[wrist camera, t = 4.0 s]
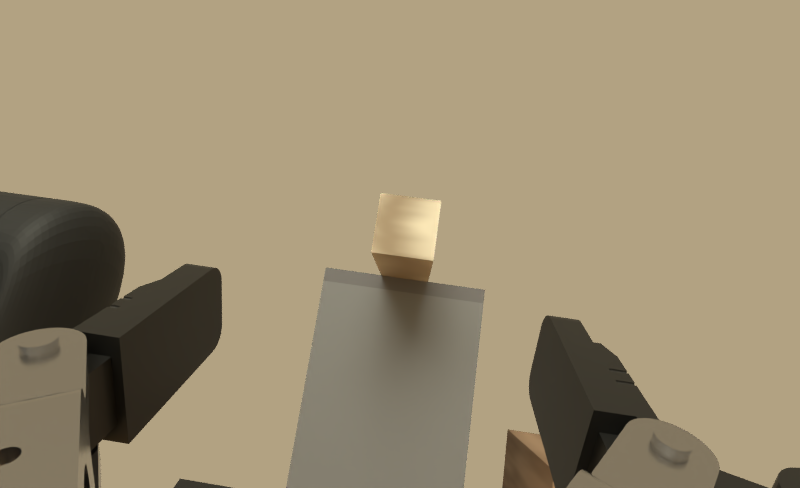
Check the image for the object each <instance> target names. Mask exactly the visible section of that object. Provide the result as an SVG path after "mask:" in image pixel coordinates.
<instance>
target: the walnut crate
mask: <svg viewBox="0 0 800 488" xmlns="http://www.w3.org/2000/svg"><path fill="white" fill-rule="evenodd" d="M503 488H555V486H554V482H553V479H552V475H551V472H550V468H549V464H548V461H547V457H546V454H545V450H544V447H543V443H542V439H541V436H540V435H539V434H534V433H527V432H521V431H514V430H508V433H507V444H506V455H505V466H504V477H503Z"/></svg>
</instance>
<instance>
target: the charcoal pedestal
mask: <svg viewBox="0 0 800 488" xmlns="http://www.w3.org/2000/svg"><path fill="white" fill-rule="evenodd" d="M484 291H485V290H481V289H474V288H467V287H460V286H453V285H446V284H439V283H432V282H425V281H418V280H410V279H403V278H396V277H389V276H382V275H375V274H368V273H360V272H354V271H346V270H340V269H332V268H326V270H325V276H324V282H323V287H322V292H321V298H320V303H319V309H318V315H317V320H316V326H315V331H314V337H313V342H312V348H311V353H310V359H309V364H308V370H307V375H306V381H305V387H304V392H303V398H302V403H301V409H300V414H299V420H298V425H297V431H296V437H295V442H294V448H293V453H292V459H291V464H290V470H289V475H288V481H287V487H286V488H464V477H465V468H466V460H467V450H468V441H469V432H470V431H469V430H470V422H471V413H472V402H473V394H474V385H475V375H476V367H477V357H478V348H479V339H480V329H481V320H482V310H483V301H484Z"/></svg>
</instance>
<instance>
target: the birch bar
mask: <svg viewBox="0 0 800 488" xmlns="http://www.w3.org/2000/svg"><path fill="white" fill-rule="evenodd" d="M440 207H441V201H437V200H429V199H422V198H414V197H407V196H399V195H391V194H384V193H381V195H380V201H379V208H378V214H377V220H376V226H375V232H374V239H373V245H372V251H371V253H372V255H373V257H374V260H375V261H376V264H377V266H378V269H379V271H380V273H381V275H382V276H389V277H396V278H403V279H410V280H418V281H425V282H428V279H429V276H430V272H431V268H432V264H433V260H434V252H435V245H436V237H437V229H438V222H439V215H440Z"/></svg>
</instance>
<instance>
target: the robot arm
mask: <svg viewBox="0 0 800 488" xmlns="http://www.w3.org/2000/svg"><path fill="white" fill-rule="evenodd" d="M124 264H125V249H124V242H123V238H122V234H121V232H120V229H119V227H118V225H117V224H116V223H115V221H114V220H113V219H112V218H111V217H110V216H109V215H108V214H107V213H105V212H103V211H102V210H100V209H99V208H96V207H94V206H91V205H87V204H83V203H78V202H72V201H66V200H58V199H51V198H43V197H37V196H29V195H22V194H14V193H7V192H0V488H101V473H100V472H101V470H100V453H99V442H100V441H101V440H102V439H103V440H110V441H115V442H121V443H127V444H129V443H130V442H131V441H132V440H133V439H134V438H135V436H136V435H137V434H138V433H139V432H140V431H141V430H142V429H143V428H144V426H145V425H146V424H147V423H148V422H149V421H150V420H151V419H152V418H153V417H154V415H155V414H156V413H157V412H158V411H159V410H160V409H161V408H162V407H163V406H164V405H165V403H166V402H167V401H168V400H169V399H170V398H171V397H172V395H174V393H175V392H176V391H177V390H178V389H179V388H180V387H181V385H182V384H184V382H185V381H186V380H187V379H188V378H189V377H190V376H191V375H192V374H193V372H194V371H195V370H196V369H197V368H198V367H199V366H200V365H201V364H202V363H203V362H204V360H205V359H206V358H207V357H208V356H209V355H210V354H211V353H212V352H213V350H214V349H215V347H216V346H217V344H218V341H219V338H220V334H221V329H222V292H221V291H222V287H221V284H222V281H221V274H220V271H219V270H218V269H217V268H212V267H205V266H198V265H192V264H185V265H183V266H181V267H180V268H178V269H177V270H175V271H174V272H172V273H171V274H169V275H167V276H166V277H164V278H163V279H161V280H158V281H155V282H152V283H149V284H146V285H143V286H140V287H138V288H137V289H135V290H133V291H132V292H130V293H129V294H127V295H125V296H124V298H123V299H119V300H117V298H118V295H119V292H120V287H121V283H122V278H123V274H124ZM529 395H530V400H531V404H532V407H533V411H534V414H535V418H536V421H537V425H538V429H539V432H540V436H541V439H542V443H543V447H544V450H545V454H546V457H547V461H548V464H549V468H550V472H551V475H552V479H553V482H554V486H555V488H767V487H764V486H762V485H759V484H756V483H754V482H751V481H748V480H745V479H742V478H740V477H737V476H734V475H731V474H728V473H726V472H723V471H721V470H719V469H720V467H719V463H718V461H717V458H716V457H715V455H714V454H713V452H712V451H711V450H710V449H709V448H708V447H707V446H706V445H705V444H704V443H703V442H702V441H700V440H699V439H697V438H696V437H695V436H693V435H692V434H690V433H689V432H687V431H685V430H683V429H681V428H679V427H677V426H675V425H673V424H670V423H667V422H664V421H660V420H659V419H658V418H657V416H656V415H655V413H654V412H653V410H652V409H651V407H650V406H649V404H648V403H647V401H646V400H645V398H644V397H643V395H642V393H641V392H640V391H639V389H638V387H637V386H634V381H633V380H632V378H631V377H630V375H629V374H627V371H626V369H625V368H624V366H623V365H622V363H621V362H620V360H619V359H618V357H617V356H616V355H614V354H613V353H612V352H610V351H609V350H608V349H607V348H605V347H604V346H603V345H602V344H599V343H593V342H592V340H591V338H590V337H589V335H588V333H587V332H586V330H585V328H584V327H583V325H582V323H581V322H580V321H579V320H574V319H568V318H561V317H554V316H546V317H545V318H544V320H543V323H542V326H541V330H540V334H539V339H538V343H537V347H536V351H535V356H534V360H533V364H532V368H531V373H530V380H529ZM174 488H231V487H225V486H219V485H213V484H207V483H202V482H195V481H190V480H184V479H180V480H179V481H178V482H177V484H176V485H175V487H174ZM772 488H800V468H786V469H784V470H782V471H781V472H780V473H779V474H778V476H777V478H776V480H775V483H774V485H773V487H772Z"/></svg>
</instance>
